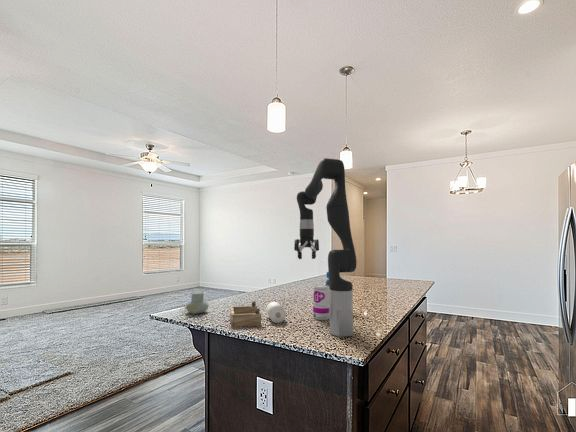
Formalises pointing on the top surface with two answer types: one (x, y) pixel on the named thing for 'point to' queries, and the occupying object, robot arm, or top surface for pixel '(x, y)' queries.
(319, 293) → the supplement can
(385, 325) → the top surface
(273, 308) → the roll
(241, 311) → the holder
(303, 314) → the top surface
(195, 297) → the air freshener
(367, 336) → the top surface
